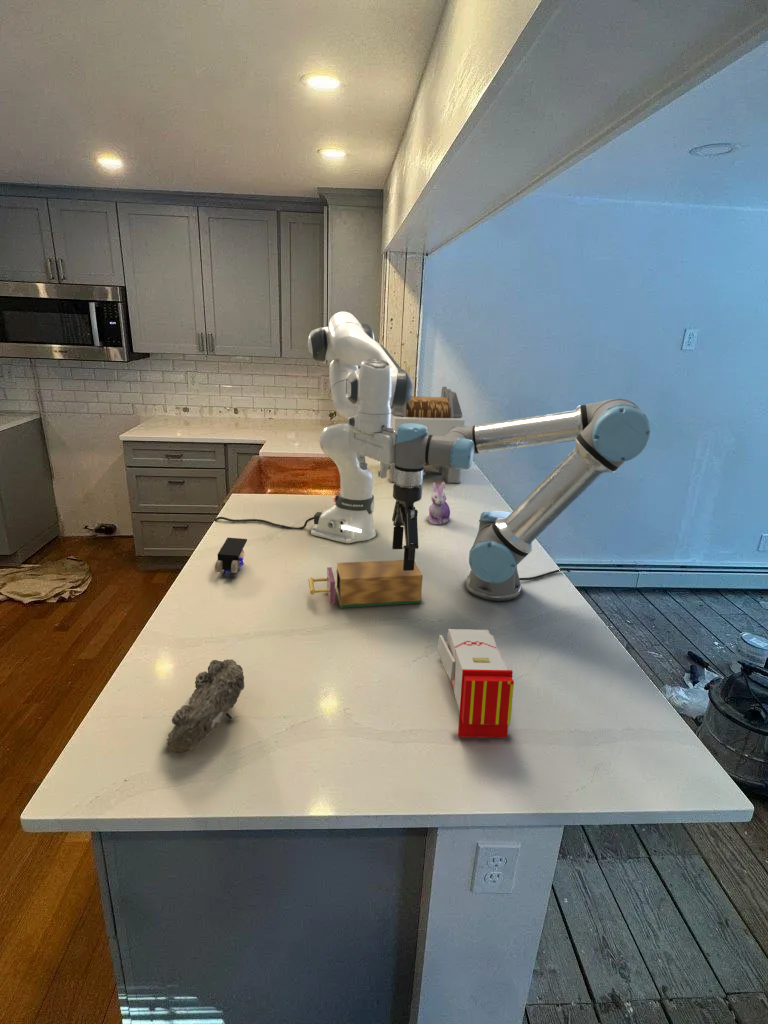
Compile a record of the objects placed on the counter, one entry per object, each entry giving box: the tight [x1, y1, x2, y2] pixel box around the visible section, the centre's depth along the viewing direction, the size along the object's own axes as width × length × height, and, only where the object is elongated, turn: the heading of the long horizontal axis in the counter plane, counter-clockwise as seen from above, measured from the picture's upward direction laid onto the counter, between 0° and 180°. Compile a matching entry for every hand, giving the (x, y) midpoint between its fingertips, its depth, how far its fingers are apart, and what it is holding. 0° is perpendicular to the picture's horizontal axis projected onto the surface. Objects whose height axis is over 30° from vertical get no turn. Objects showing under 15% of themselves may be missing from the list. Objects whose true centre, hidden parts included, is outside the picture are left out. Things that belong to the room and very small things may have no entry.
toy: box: [437, 628, 515, 738], centre depth 117 cm, size 12×13×30 cm
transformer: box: [388, 386, 465, 484], centre depth 268 cm, size 34×33×41 cm
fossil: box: [166, 658, 245, 754], centre depth 106 cm, size 22×10×15 cm
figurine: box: [427, 481, 451, 525], centre depth 211 cm, size 9×10×15 cm
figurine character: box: [214, 537, 248, 578], centre depth 166 cm, size 7×8×15 cm
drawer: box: [307, 566, 341, 605], centre depth 153 cm, size 26×9×6 cm, turn 101°
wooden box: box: [335, 559, 423, 609], centre depth 155 cm, size 22×10×8 cm, turn 101°
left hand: (372, 473), depth 155 cm, fingers open, 8 cm apart
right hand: (402, 559), depth 154 cm, fingers open, 13 cm apart
